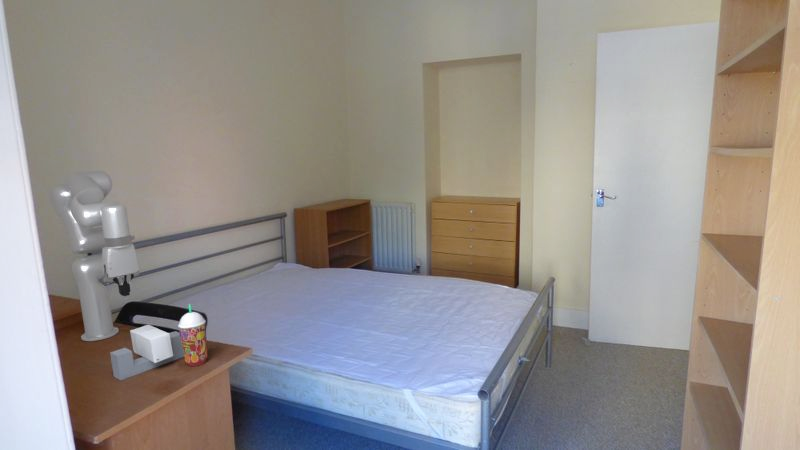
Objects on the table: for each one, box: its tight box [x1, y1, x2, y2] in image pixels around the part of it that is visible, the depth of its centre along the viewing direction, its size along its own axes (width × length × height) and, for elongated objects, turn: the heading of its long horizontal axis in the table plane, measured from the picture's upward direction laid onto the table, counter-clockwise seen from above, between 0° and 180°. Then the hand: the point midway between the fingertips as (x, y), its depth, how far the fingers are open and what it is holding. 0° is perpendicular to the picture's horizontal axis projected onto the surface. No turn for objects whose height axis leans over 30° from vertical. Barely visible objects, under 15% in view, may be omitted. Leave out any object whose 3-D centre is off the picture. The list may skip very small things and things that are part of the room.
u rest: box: [109, 330, 185, 381], centre depth 165 cm, size 5×21×8 cm, turn 141°
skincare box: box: [129, 324, 173, 363], centre depth 166 cm, size 8×7×16 cm
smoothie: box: [177, 303, 208, 367], centre depth 165 cm, size 8×8×20 cm
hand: (125, 295), depth 170 cm, fingers closed
